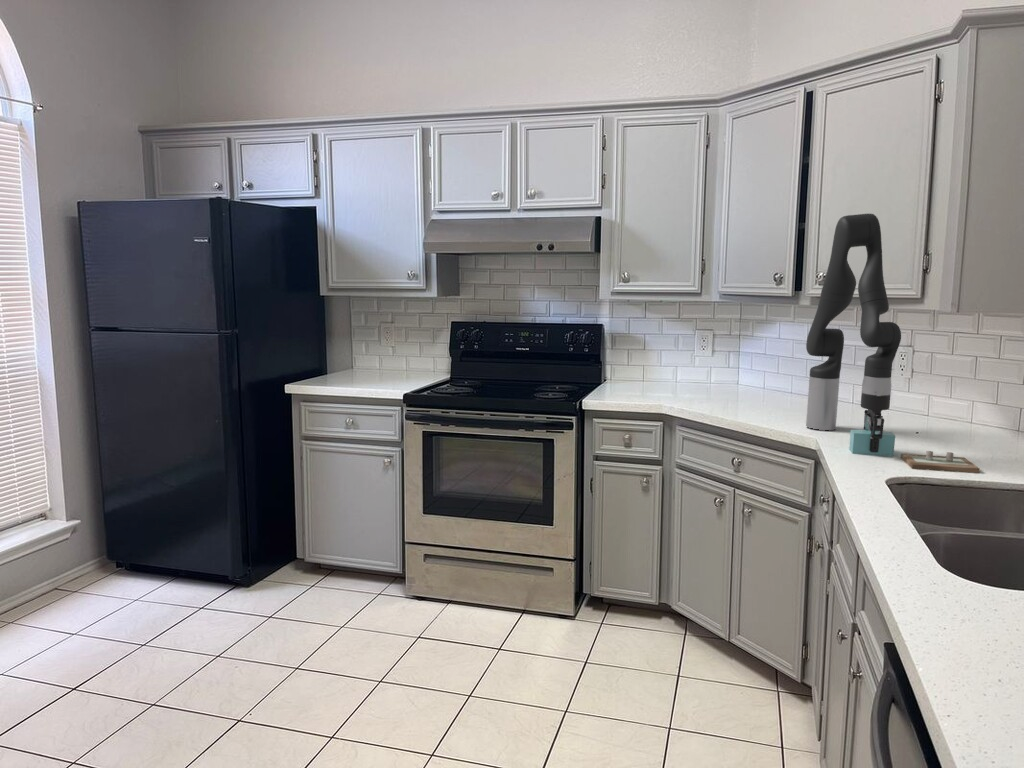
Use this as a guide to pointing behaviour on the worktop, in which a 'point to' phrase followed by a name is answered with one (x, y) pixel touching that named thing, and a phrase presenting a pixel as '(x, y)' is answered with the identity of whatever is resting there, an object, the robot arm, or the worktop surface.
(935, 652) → the worktop surface
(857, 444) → the block
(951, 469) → the stub base
